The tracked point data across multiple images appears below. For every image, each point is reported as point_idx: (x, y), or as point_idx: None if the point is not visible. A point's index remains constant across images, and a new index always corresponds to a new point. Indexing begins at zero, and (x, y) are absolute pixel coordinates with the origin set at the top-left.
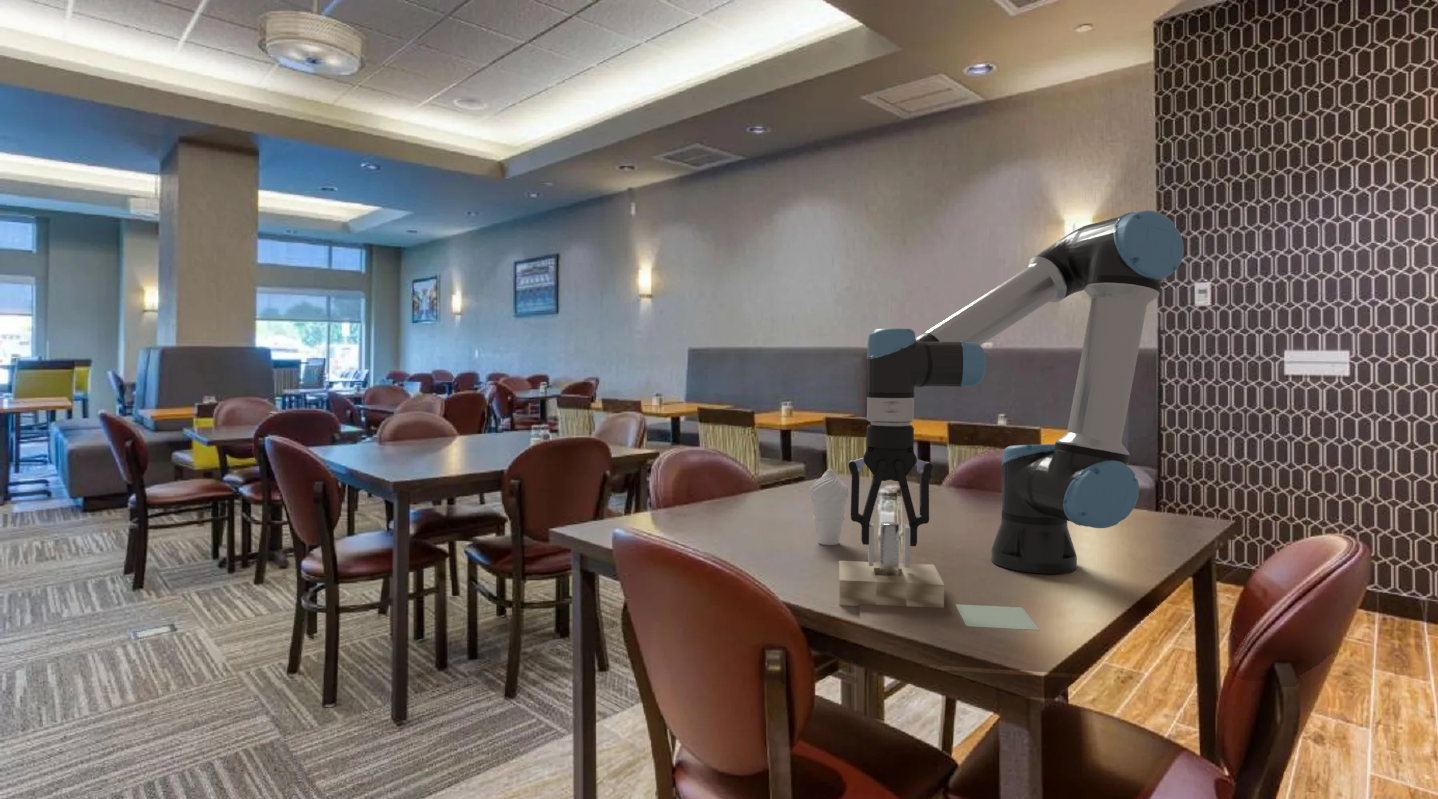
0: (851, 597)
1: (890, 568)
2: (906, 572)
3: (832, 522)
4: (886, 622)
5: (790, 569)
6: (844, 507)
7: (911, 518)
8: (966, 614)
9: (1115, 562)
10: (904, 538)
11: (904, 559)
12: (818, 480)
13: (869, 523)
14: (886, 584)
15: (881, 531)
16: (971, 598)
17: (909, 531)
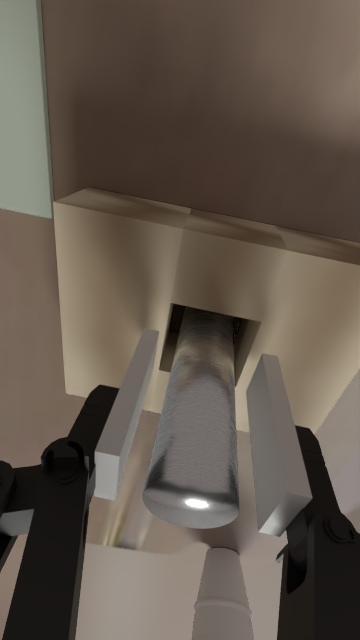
0: (354, 248)
1: (207, 335)
2: None
3: (222, 597)
4: (306, 52)
5: (357, 476)
6: (193, 633)
7: (66, 507)
8: (26, 114)
9: None
10: (133, 429)
11: (152, 363)
12: None
13: (278, 532)
14: (252, 241)
15: (237, 467)
16: (11, 281)
17: (105, 435)
